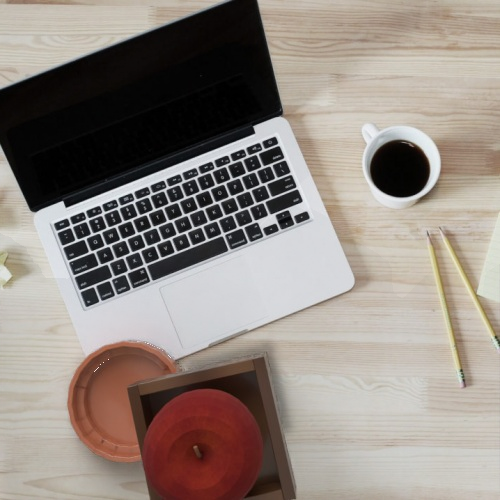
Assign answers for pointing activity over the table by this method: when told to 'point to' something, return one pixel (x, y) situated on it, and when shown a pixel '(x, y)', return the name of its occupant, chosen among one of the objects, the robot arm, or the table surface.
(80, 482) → the table surface
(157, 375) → the bowl
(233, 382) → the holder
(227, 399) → the apple
